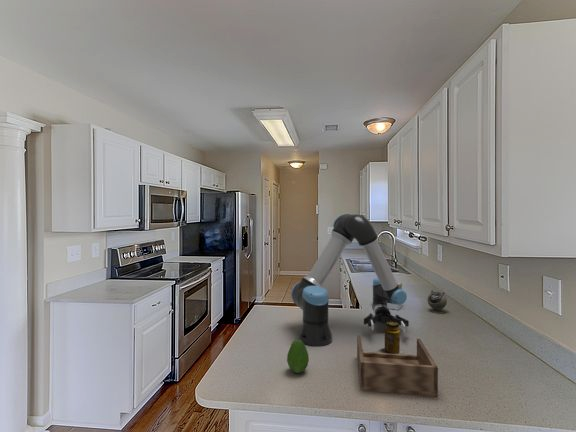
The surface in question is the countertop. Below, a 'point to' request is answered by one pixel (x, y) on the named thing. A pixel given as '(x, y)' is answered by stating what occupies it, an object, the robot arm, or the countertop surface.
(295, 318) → the countertop surface
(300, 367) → the avocado
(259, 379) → the countertop surface
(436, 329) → the countertop surface
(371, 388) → the tray
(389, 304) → the tea box
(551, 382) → the countertop surface
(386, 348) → the condiment
